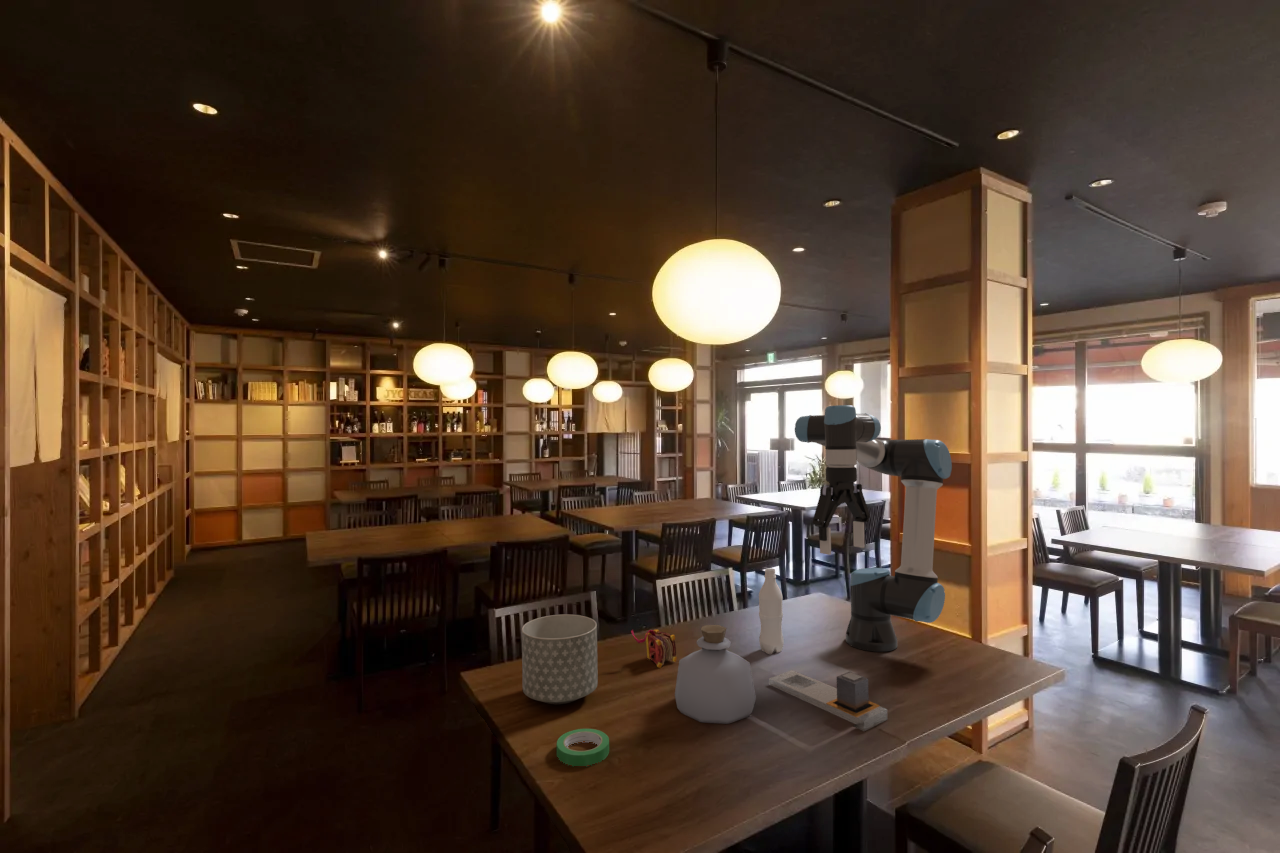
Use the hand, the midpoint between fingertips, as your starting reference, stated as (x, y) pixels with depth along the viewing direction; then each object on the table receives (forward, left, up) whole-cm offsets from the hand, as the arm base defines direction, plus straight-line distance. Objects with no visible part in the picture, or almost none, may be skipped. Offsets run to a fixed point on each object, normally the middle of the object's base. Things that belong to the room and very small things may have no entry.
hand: (842, 550), depth 147 cm
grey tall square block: (+7, +7, -36) cm, 37 cm away
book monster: (+26, -47, -37) cm, 65 cm away
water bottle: (-8, -32, -37) cm, 49 cm away
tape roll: (+66, -17, -37) cm, 78 cm away
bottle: (+30, -16, -37) cm, 50 cm away
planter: (+58, -43, -37) cm, 81 cm away
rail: (+7, -1, -37) cm, 37 cm away
